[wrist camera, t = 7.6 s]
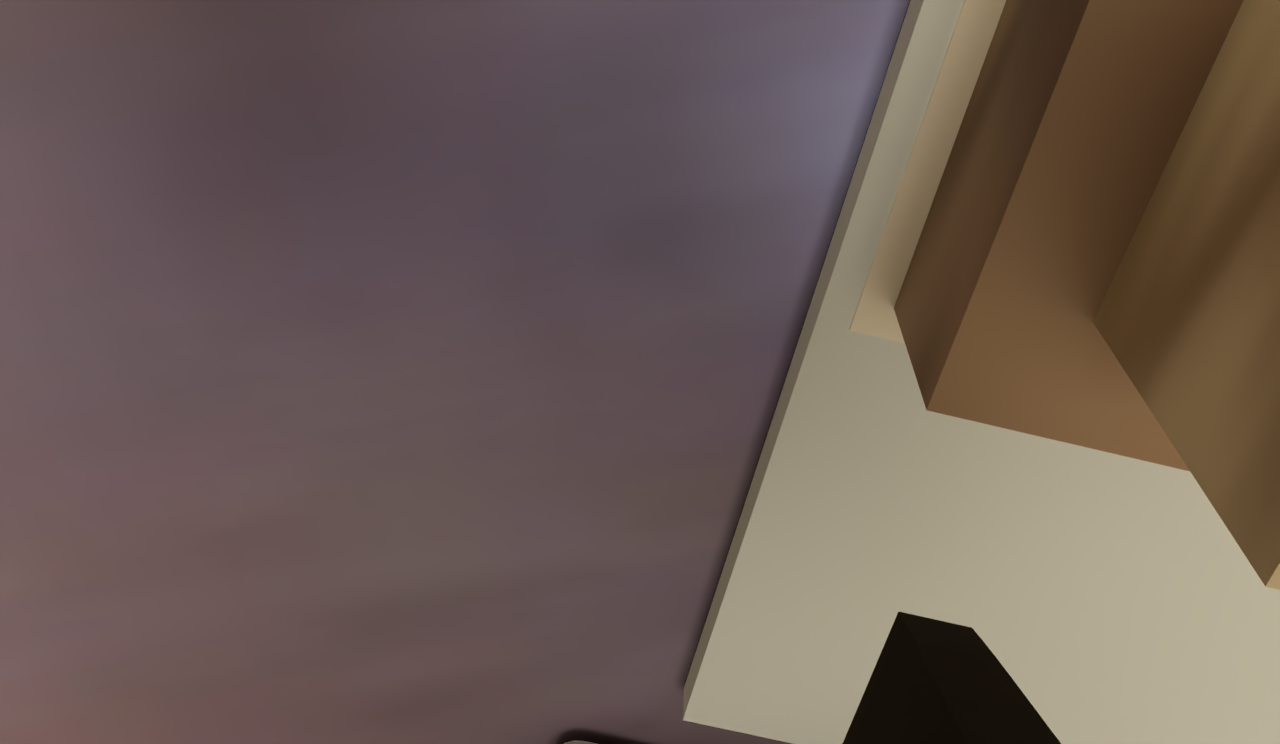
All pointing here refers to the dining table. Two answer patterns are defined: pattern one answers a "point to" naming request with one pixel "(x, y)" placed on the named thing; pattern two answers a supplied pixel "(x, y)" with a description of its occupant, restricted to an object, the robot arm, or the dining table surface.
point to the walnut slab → (1053, 216)
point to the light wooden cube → (1216, 290)
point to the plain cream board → (964, 505)
